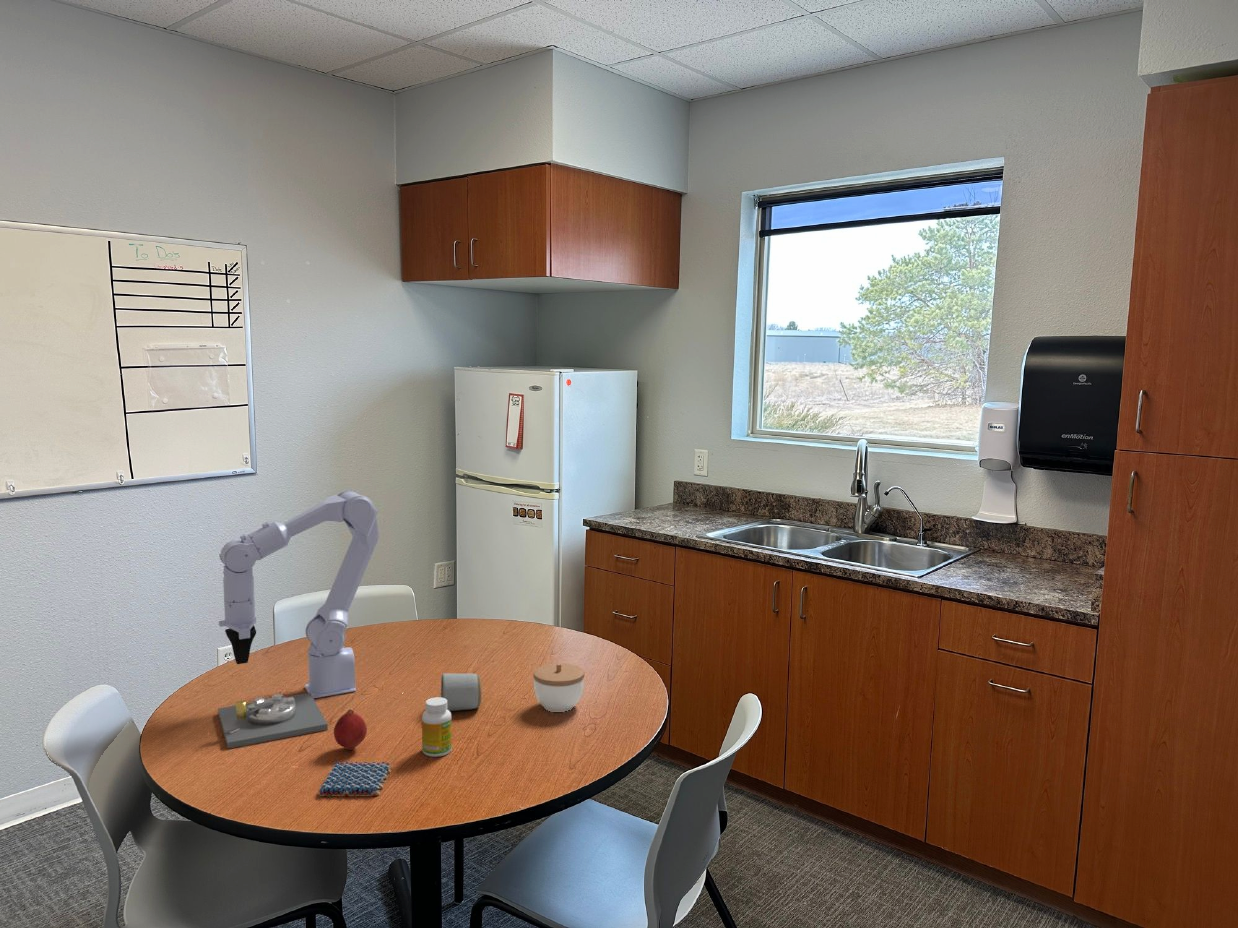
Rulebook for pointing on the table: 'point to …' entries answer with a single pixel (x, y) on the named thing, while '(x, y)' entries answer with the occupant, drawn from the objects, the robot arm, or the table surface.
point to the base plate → (248, 733)
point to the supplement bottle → (436, 728)
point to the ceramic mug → (461, 691)
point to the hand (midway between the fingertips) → (241, 662)
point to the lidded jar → (558, 686)
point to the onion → (350, 730)
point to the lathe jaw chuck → (267, 710)
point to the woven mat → (355, 779)
